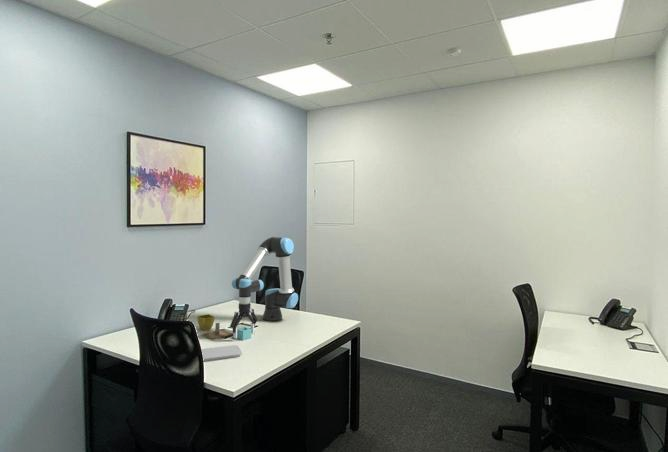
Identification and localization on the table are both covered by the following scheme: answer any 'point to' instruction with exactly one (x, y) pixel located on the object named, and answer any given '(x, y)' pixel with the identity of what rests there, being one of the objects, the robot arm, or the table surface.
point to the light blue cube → (244, 333)
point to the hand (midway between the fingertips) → (243, 335)
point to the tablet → (221, 353)
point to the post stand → (217, 333)
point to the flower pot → (205, 321)
